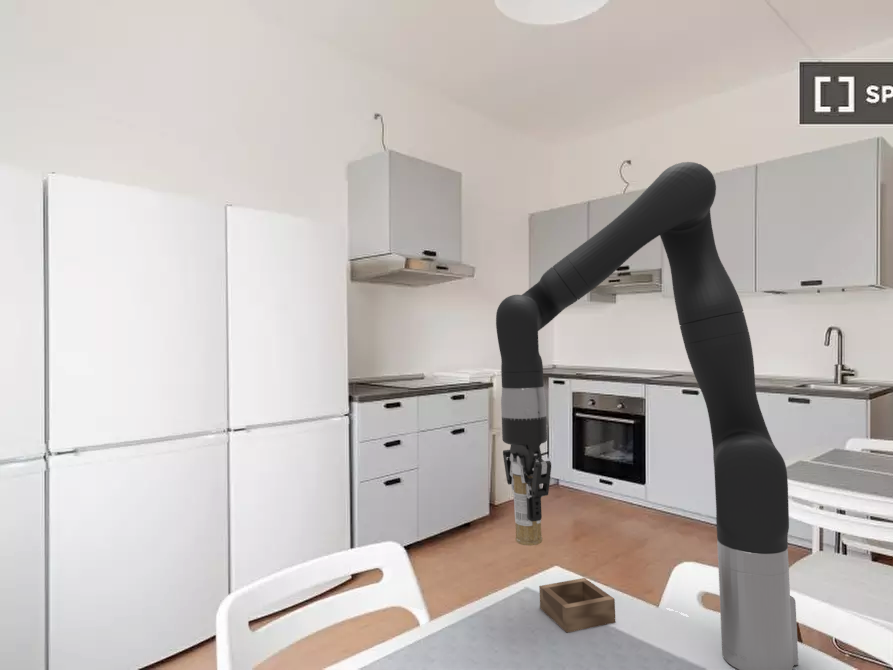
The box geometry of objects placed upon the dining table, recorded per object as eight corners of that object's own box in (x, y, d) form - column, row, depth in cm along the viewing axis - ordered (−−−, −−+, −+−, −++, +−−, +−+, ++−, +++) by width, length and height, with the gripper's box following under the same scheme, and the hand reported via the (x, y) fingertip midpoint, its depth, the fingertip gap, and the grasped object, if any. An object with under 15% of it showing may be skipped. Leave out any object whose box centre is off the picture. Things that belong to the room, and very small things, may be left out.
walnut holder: (585, 599, 104) (584, 577, 104) (615, 622, 95) (614, 598, 95) (540, 608, 101) (539, 585, 101) (566, 632, 92) (565, 608, 92)
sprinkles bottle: (548, 542, 93) (544, 461, 93) (527, 548, 90) (524, 465, 91) (529, 535, 96) (526, 457, 97) (509, 541, 94) (506, 461, 94)
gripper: (565, 416, 88) (569, 525, 88) (525, 408, 102) (528, 503, 101) (522, 420, 86) (526, 532, 85) (487, 411, 100) (490, 508, 99)
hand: (527, 515), depth 93 cm, fingers closed on sprinkles bottle, 4 cm apart
